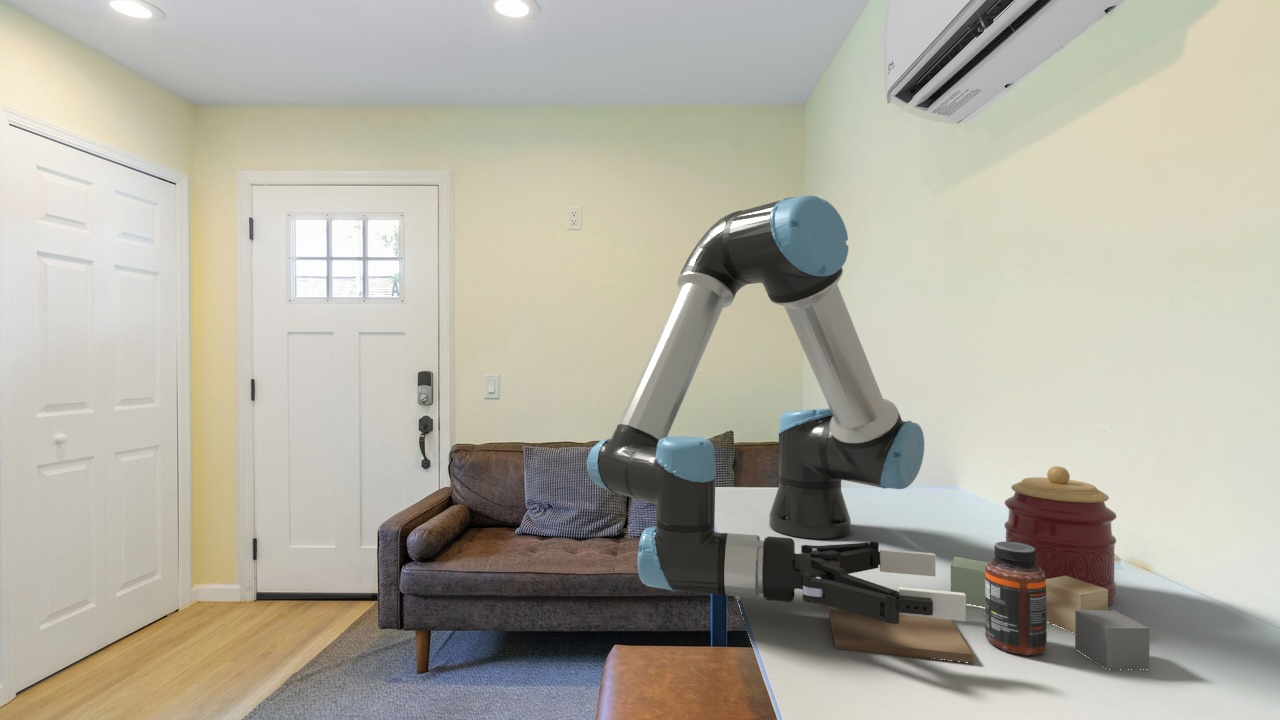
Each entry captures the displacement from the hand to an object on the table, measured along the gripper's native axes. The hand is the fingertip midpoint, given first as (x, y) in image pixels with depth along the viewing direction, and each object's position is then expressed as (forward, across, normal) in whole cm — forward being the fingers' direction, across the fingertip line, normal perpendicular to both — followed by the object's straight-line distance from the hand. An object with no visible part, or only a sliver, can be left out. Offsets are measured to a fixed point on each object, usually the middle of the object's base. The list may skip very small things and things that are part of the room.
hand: (948, 584), depth 70 cm
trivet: (-6, -1, -6) cm, 9 cm away
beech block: (+16, -9, -7) cm, 19 cm away
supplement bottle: (+7, 0, -7) cm, 10 cm away
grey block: (+16, 0, -7) cm, 17 cm away
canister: (+19, -21, -7) cm, 29 cm away
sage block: (+6, -14, -7) cm, 16 cm away
